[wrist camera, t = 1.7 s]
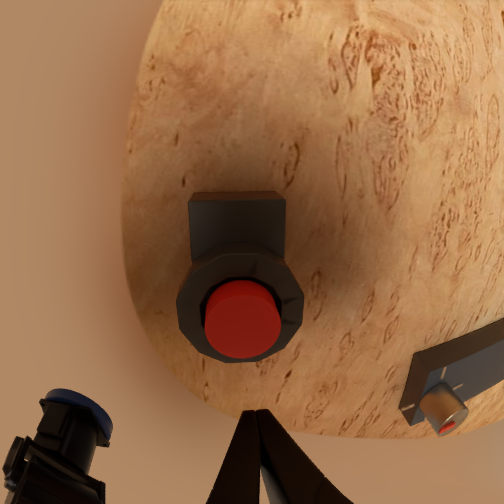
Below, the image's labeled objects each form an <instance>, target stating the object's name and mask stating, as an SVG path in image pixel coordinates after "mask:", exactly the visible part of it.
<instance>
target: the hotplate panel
mask: <svg viewBox="0 0 504 504" xmlns="http://www.w3.org/2000/svg"><path fill="white" fill-rule="evenodd" d="M503 379H504V318H503V319H501V320H499V321H497V322H495V323H492V324H490V325H488V326H486V327H483V328H481V329H479V330H476V331H474V332H472V333H469V334H467V335H464V336H462V337H459V338H457V339H454V340H451V341H449V342H446V343H443V344H441V345H438V346H435V347H432V348H430V349H427V350H424V351H421V352H418V353H415V354H414V356H413V360H412V364H411V368H410V372H409V376H408V379H407V383H406V386H405V390H404V393H403V397H402V400H401V403H400V406H399V409H400V411H401V412H402V414H403V416H404V417H405V419H406V420H407V422H408V424H409V425H410V426H412V425H415V424H417V423H420V422H422V421H423V422H424V421H426V420H427V418H426V417H425V415H424V414H423V412H422V411H421V409H420V407H419V404H420V401H421V399H422V398H423V397H424V395H425V394H426V393H427V392H428V391H429V390H430V389H432V388H433V387H435V386H436V385H438V384H441V383H447V384H448V385H449V386H450V387H451V389H452V390H453V391H454V392H455V393H456V395H457V396H458V397H459V398H460V400H461V401H462V402H465V401H467V400H469V399H470V398H472V397H474V396H476V395H478V394H480V393H481V392H483V391H485V390H487V389H488V388H490V387H492V386H494V385H495V384H497V383H499V382H500V381H502V380H503Z"/></svg>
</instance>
